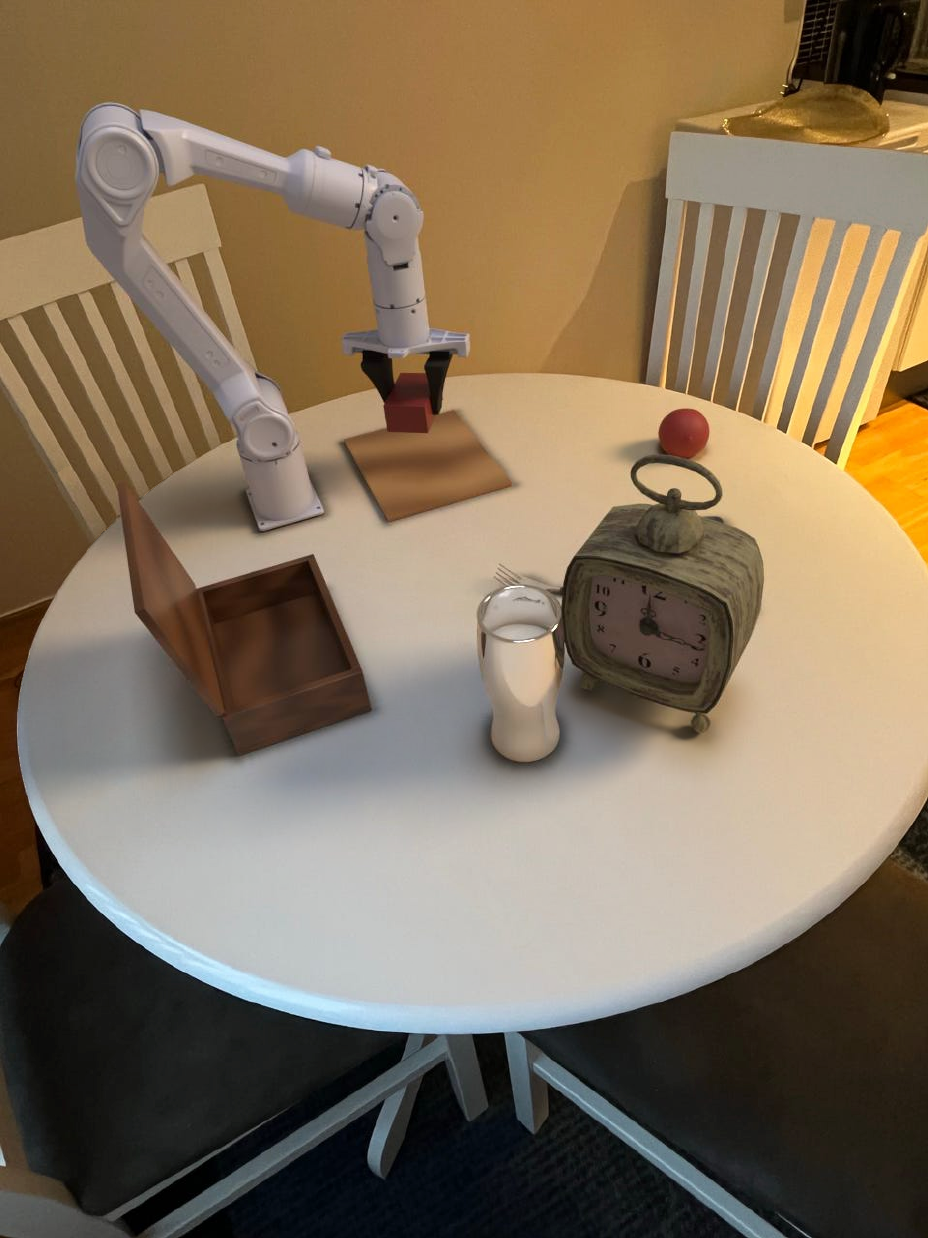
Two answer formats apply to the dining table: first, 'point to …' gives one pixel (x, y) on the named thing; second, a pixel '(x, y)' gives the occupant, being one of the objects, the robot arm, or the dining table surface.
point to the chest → (280, 654)
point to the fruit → (683, 433)
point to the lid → (167, 599)
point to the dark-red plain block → (409, 405)
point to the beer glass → (522, 668)
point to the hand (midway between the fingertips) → (414, 409)
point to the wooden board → (425, 466)
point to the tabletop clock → (663, 599)
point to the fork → (524, 580)
